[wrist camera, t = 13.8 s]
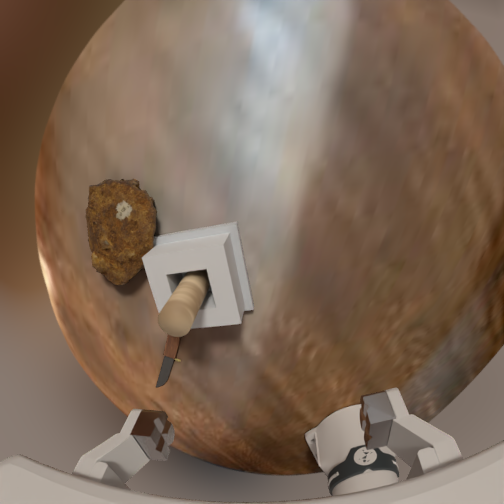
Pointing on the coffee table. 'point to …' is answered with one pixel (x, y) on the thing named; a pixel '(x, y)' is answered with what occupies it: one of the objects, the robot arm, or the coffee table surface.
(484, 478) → the robot arm
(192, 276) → the peg
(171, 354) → the knife
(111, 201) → the decorative rock
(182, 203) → the coffee table surface
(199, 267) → the socket
